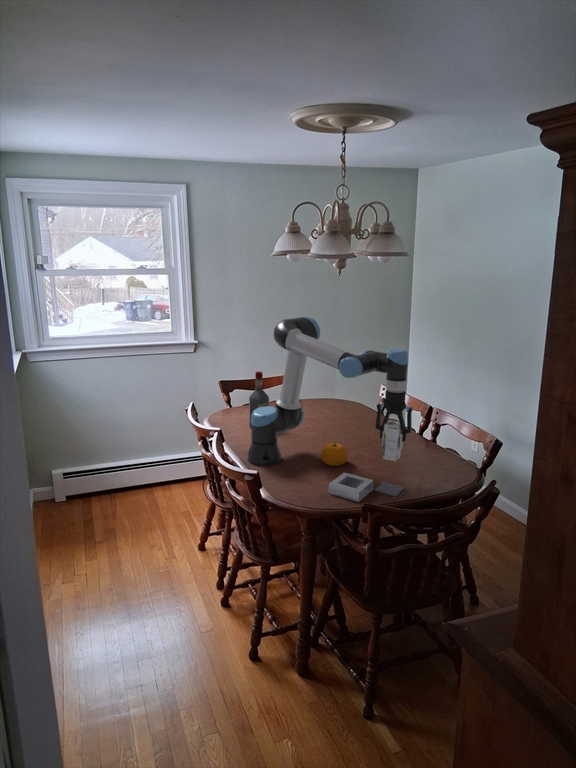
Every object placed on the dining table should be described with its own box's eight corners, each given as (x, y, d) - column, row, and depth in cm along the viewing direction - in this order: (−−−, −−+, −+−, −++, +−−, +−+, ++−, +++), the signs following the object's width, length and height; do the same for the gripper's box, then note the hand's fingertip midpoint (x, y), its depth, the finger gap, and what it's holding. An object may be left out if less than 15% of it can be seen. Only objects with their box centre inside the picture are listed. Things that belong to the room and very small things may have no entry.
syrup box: (386, 454, 209) (388, 419, 206) (401, 457, 207) (403, 421, 203) (382, 459, 205) (383, 423, 201) (396, 462, 202) (398, 426, 198)
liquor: (247, 427, 279) (246, 372, 272) (257, 423, 286) (257, 369, 279) (261, 431, 274) (260, 375, 267) (271, 426, 282) (271, 371, 274)
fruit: (325, 456, 242) (326, 435, 239) (350, 460, 238) (351, 439, 235) (317, 465, 231) (317, 444, 229) (342, 470, 227) (343, 448, 225)
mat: (374, 491, 208) (374, 490, 208) (383, 482, 215) (383, 481, 215) (395, 496, 203) (395, 495, 203) (404, 488, 210) (404, 487, 210)
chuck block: (328, 493, 206) (328, 483, 205) (343, 481, 216) (344, 472, 215) (358, 502, 199) (359, 492, 198) (373, 489, 209) (373, 480, 208)
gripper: (368, 389, 199) (365, 447, 205) (419, 395, 192) (415, 454, 198) (373, 385, 206) (370, 440, 212) (423, 390, 198) (418, 448, 204)
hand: (392, 447), depth 205 cm, fingers closed on syrup box, 6 cm apart
